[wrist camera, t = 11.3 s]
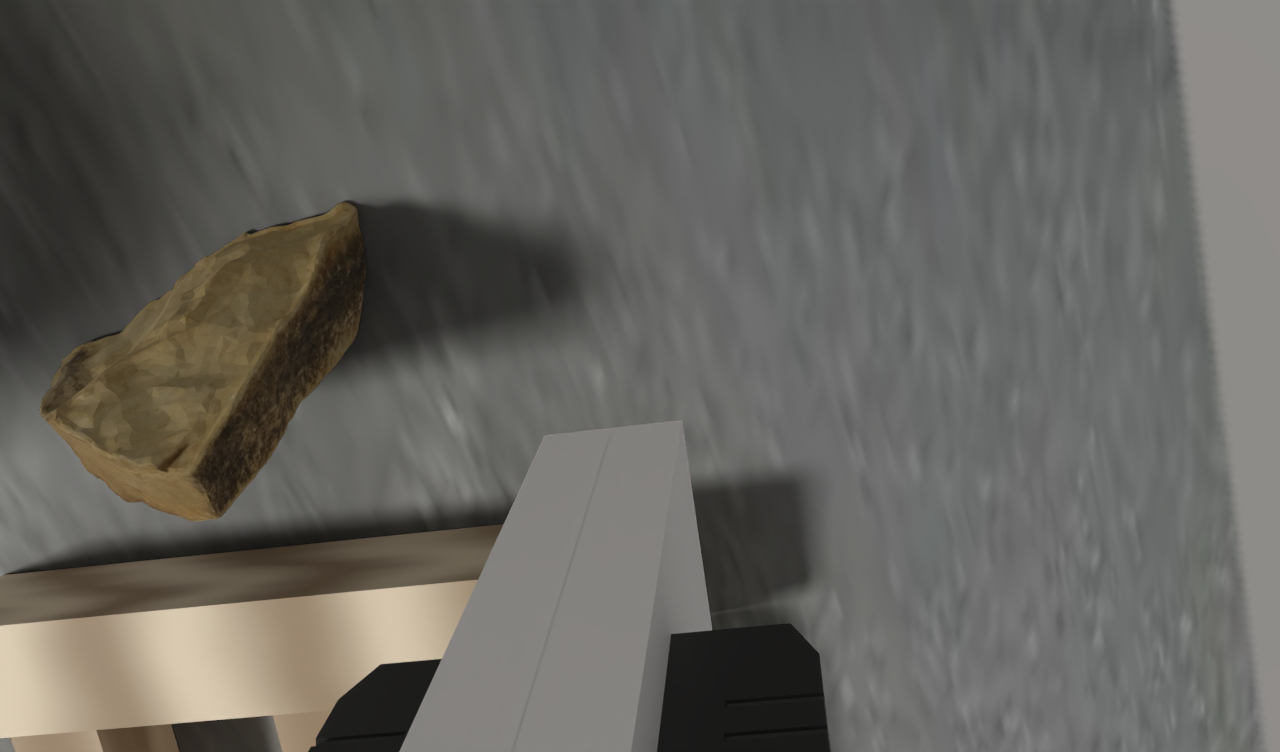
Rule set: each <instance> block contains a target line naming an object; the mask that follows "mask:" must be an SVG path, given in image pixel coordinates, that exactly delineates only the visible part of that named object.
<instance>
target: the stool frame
mask: <svg viewBox="0 0 1280 752" xmlns="http://www.w3.org/2000/svg"><path fill="white" fill-rule="evenodd" d="M502 527H503V524H500V525H490V526H480V527H470V528H461V529H451V530H441V531H431V532H421V533H412V534H402V535H392V536H382V537H372V538H363V539H353V540H343V541H333V542H323V543H314V544H304V545H294V546H284V547H274V548H265V549H255V550H245V551H235V552H225V553H215V554H206V555H196V556H186V557H176V558H166V559H157V560H147V561H137V562H127V563H117V564H108V565H98V566H88V567H78V568H68V569H59V570H49V571H39V572H29V573H19V574H10V575H3V576H1V577H0V738H9V737H11V740H12V743H13V746H14V749H15V752H179V749H178V746H177V742H176V739H175V735H174V732H173V729H172V725H171V724H176V723H188V722H200V721H211V720H223V719H235V718H247V717H259V716H271V715H273V718H274V722H275V726H276V729H277V733H278V737H279V741H280V744H281V748H282V752H308V751H309V749H310V747H311V746H316V737H317V735H318V734H319V732H320V730H321V728H322V727H323V725H324V723H325V721H326V720H327V718H328V716H329V715H330V713H331V711H332V709H333V708H334V706H335V704H336V702H337V701H338V699H339V698H341V697H342V696H343V695H344V694H345V693H347V692H348V691H349V690H350V689H351V688H353V687H354V686H355V685H356V684H357V683H359V682H360V681H361V680H362V679H363V678H365V677H366V676H367V675H368V674H369V673H371V672H372V671H373V670H374V669H375V668H377V667H378V666H379V665H380V664H389V663H400V662H411V661H423V660H434V659H442V657H443V655H444V653H445V651H446V649H447V647H448V644H449V642H450V640H451V638H452V636H453V633H454V631H455V629H456V627H457V625H458V623H459V620H460V618H461V616H462V614H463V612H464V609H465V607H466V605H467V603H468V601H469V599H470V596H471V594H472V592H473V590H474V588H475V585H476V583H477V581H478V579H479V577H480V575H481V572H482V570H483V568H484V566H485V564H486V561H487V559H488V557H489V555H490V553H491V551H492V548H493V546H494V544H495V542H496V540H497V537H498V535H499V533H500V531H501V529H502Z"/></svg>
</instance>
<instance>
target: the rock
mask: <svg viewBox="0 0 1280 752" xmlns="http://www.w3.org/2000/svg"><path fill="white" fill-rule="evenodd" d="M365 277H366V255H365V246H364V241H363V238H362V235H361V231H360V228H359V221H358V210H357V208H356V207H354V206H353V205H351V204H349V203H346V202H343V203H339V204H337V205H336V206H335V207H334V208H333V209H332V210H331V211H329V212H327V213H326V214H324V215H321V216H317V217H312V218H308V219H304V220H300V221H297V222H294V223H292V224H290V225H285V226H275V227H269V228H266V229H264V230H261V231H258V232H256V233H253V234H248V233H243V234H241V235H240V236H239V237H237V238H236V239H235V240H233V241H232V242H230V243H227V244H226V245H225V246H224V247H223V248H221V249H220V250H219V251H217V252H215V253H213V254H212V255H210V256H206V257H205V258H203V259H202V260H200V261H199V262H197V263H196V264H195V266H194V268H193V269H192V270H190V271H189V272H188V273H186V274H184V275H183V276H181V277H180V278H179V279H178V280H177V281H176V283H175V286H174V289H172V290H170V291H168V292H167V293H166V294H165V295H163V296H162V297H161V298H160V299H158V300H154V301H151V302H150V303H149V304H148V305H147V306H146V307H145V308H143V309H142V310H141V311H140V312H139V313H138V314H137V315H136V316H135V317H134V318H133V320H132V321H131V322H130V323H129V324H128V325H127V326H126V327H125V329H124V330H123V331H122V332H121V333H120V334H116V335H113V336H107V337H104V338H102V339H99V340H97V341H94V342H88V343H85V344H83V345H80V346H78V347H76V348H75V349H73V350H72V352H71V353H70V354H69V355H67V356H66V357H64V358H63V360H62V365H61V366H60V368H59V369H58V371H57V372H56V374H55V375H54V376H53V379H52V384H51V389H49V390H48V391H47V392H46V394H45V395H44V397H43V399H42V402H41V405H40V409H39V411H40V414H41V415H42V417H43V418H44V419H45V420H46V421H47V422H48V423H49V424H50V425H51V426H52V427H53V428H54V429H55V431H56V432H57V433H58V434H59V435H60V436H61V437H62V438H63V439H64V440H65V441H66V442H67V443H68V444H69V446H70V447H71V448H72V450H73V451H74V453H75V454H76V455H77V456H78V457H79V458H80V460H81V463H82V464H83V466H84V467H85V468H86V469H87V471H89V472H90V473H92V474H93V475H94V476H96V477H97V478H100V479H101V480H103V481H104V482H105V483H106V484H107V485H108V487H109V488H110V489H111V490H112V491H114V492H115V493H116V494H117V495H118V496H120V497H121V498H122V499H123V500H124V501H126V502H144V503H146V504H147V505H149V506H150V507H152V508H154V509H157V510H160V511H162V512H165V513H168V514H172V515H176V516H179V517H183V518H185V519H187V520H189V521H191V522H193V521H204V520H209V519H218V518H220V517H222V515H223V514H224V513H225V512H226V511H227V510H228V509H229V508H230V506H231V505H232V504H233V502H234V501H235V499H236V498H237V497H238V496H239V495H240V494H241V493H242V492H243V490H244V489H245V488H246V487H247V485H248V484H249V483H250V482H251V481H252V480H253V479H254V478H255V477H256V475H257V473H258V472H259V471H260V469H261V468H262V467H263V466H264V465H265V464H266V463H267V461H268V460H269V458H270V457H271V455H272V453H273V451H274V450H275V448H276V447H277V445H278V443H279V441H280V440H281V438H282V436H283V435H284V433H285V430H286V428H287V425H288V422H289V421H290V420H291V419H292V418H293V416H294V414H295V411H296V409H297V407H298V406H299V404H300V402H301V401H302V400H303V399H305V398H306V397H307V396H308V395H309V394H310V393H311V392H312V391H313V390H314V389H315V388H316V387H317V386H318V385H319V384H320V382H321V381H322V379H323V378H324V377H325V376H326V375H327V374H328V373H329V372H330V371H331V370H332V369H333V368H334V367H335V366H336V365H337V363H338V362H339V360H340V359H341V358H342V356H343V355H344V353H345V352H346V350H347V349H348V348H349V346H350V345H351V344H352V343H353V341H354V339H355V337H356V334H357V332H358V326H359V321H360V315H361V307H362V302H363V295H364V283H365Z"/></svg>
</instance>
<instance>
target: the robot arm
mask: <svg viewBox="0 0 1280 752" xmlns="http://www.w3.org/2000/svg"><path fill="white" fill-rule="evenodd" d="M308 752H831V751H830V742H829V734H828V725H827V717H826V708H825V700H824V691H823V683H822V674H821V666H820V657H819V653H818V652H817V651H816V650H815V649H814V648H813V647H812V646H811V645H810V644H809V643H808V642H807V641H806V639H805V638H804V637H803V636H802V635H801V634H800V633H799V632H798V631H797V630H796V629H795V628H794V627H793V626H792V625H791V624H778V625H767V626H756V627H745V628H733V629H722V630H712V624H711V617H710V610H709V603H708V596H707V589H706V582H705V576H704V569H703V562H702V555H701V548H700V541H699V534H698V527H697V520H696V513H695V506H694V500H693V493H692V486H691V479H690V472H689V465H688V458H687V451H686V444H685V437H684V430H683V423H682V420H678V421H669V422H660V423H651V424H642V425H633V426H624V427H615V428H606V429H597V430H588V431H579V432H570V433H561V434H552V435H544V437H543V439H542V441H541V444H540V446H539V448H538V450H537V452H536V455H535V457H534V459H533V461H532V463H531V465H530V468H529V470H528V472H527V474H526V476H525V479H524V481H523V483H522V485H521V487H520V489H519V492H518V494H517V496H516V498H515V500H514V503H513V505H512V507H511V509H510V511H509V513H508V516H507V518H506V520H505V522H504V524H503V527H502V529H501V531H500V533H499V535H498V537H497V540H496V542H495V544H494V546H493V548H492V551H491V553H490V555H489V557H488V559H487V561H486V564H485V566H484V568H483V570H482V572H481V575H480V577H479V579H478V581H477V583H476V585H475V588H474V590H473V592H472V594H471V596H470V599H469V601H468V603H467V605H466V607H465V609H464V612H463V614H462V616H461V618H460V620H459V623H458V625H457V627H456V629H455V631H454V633H453V636H452V638H451V640H450V642H449V644H448V647H447V649H446V651H445V653H444V655H443V657H442V659H434V660H423V661H411V662H400V663H389V664H380V665H379V666H378V667H377V668H375V669H374V670H373V671H372V672H371V673H369V674H368V675H367V676H366V677H365V678H363V679H362V680H361V681H360V682H359V683H357V684H356V685H355V686H354V687H353V688H351V689H350V690H349V691H348V692H347V693H345V694H344V695H343V696H342V697H341V698H339V699H338V701H337V702H336V704H335V706H334V708H333V709H332V711H331V713H330V715H329V716H328V718H327V720H326V721H325V723H324V725H323V727H322V728H321V730H320V732H319V734H318V735H317V737H316V746H311V747H310V749H309V751H308Z"/></svg>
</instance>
